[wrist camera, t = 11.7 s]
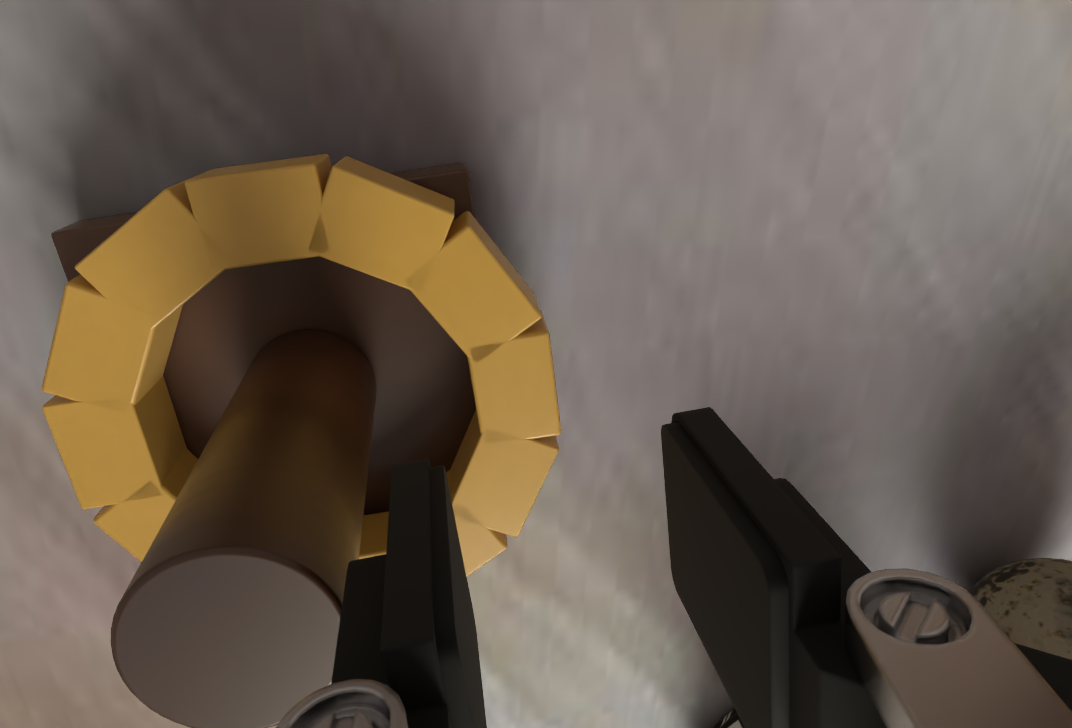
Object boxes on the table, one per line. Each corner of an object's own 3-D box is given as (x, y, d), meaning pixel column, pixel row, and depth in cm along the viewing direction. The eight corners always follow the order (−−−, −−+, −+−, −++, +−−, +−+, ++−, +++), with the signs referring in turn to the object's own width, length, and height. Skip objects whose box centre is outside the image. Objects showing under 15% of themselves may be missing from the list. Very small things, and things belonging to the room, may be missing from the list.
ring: (165, 607, 20) (138, 656, 18) (13, 195, 16) (-38, 210, 14) (570, 541, 20) (580, 584, 19) (518, 127, 16) (525, 133, 15)
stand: (192, 546, 21) (5, 951, 11) (77, 220, 18) (-327, 397, 8) (515, 483, 22) (599, 810, 12) (463, 161, 19) (522, 257, 9)
